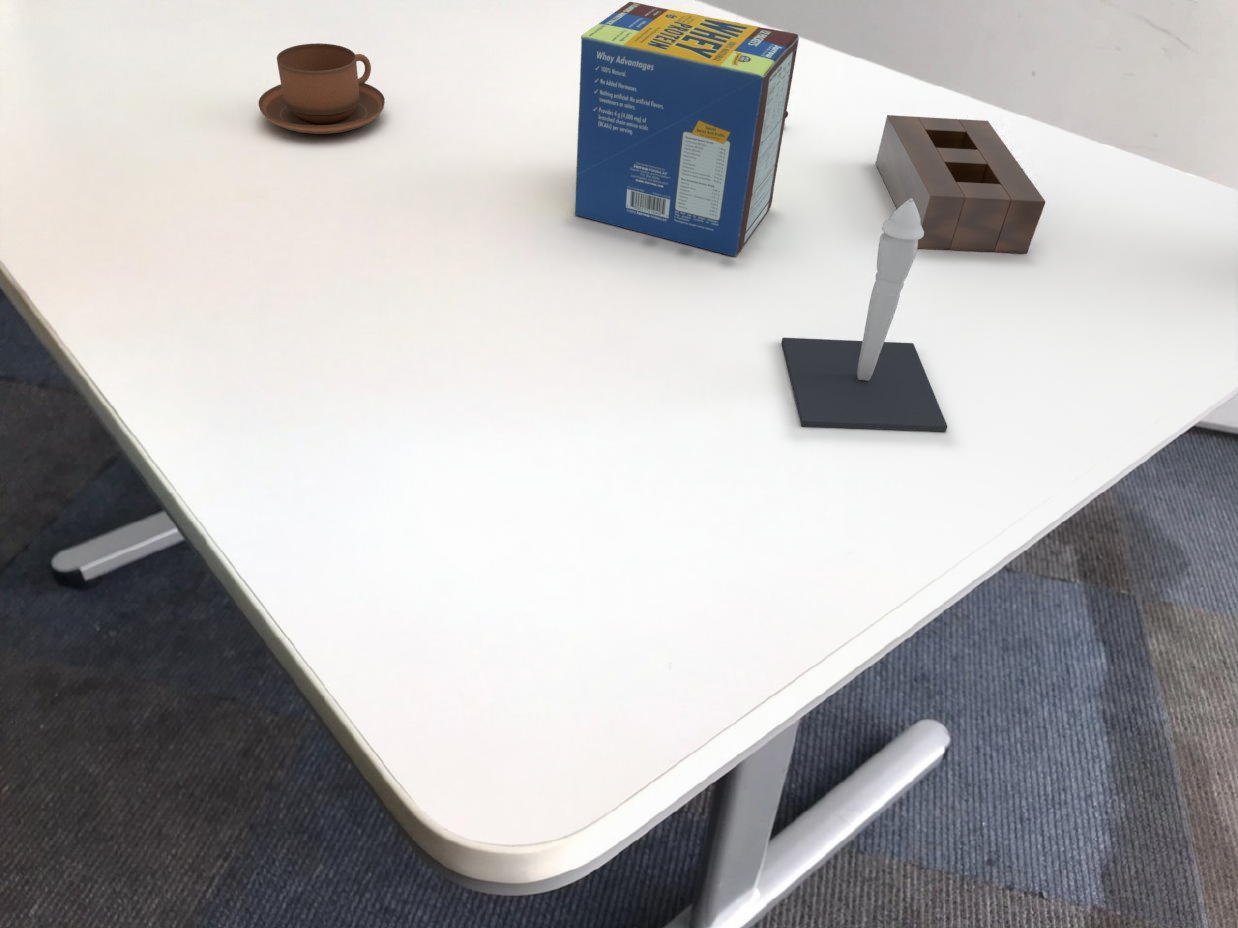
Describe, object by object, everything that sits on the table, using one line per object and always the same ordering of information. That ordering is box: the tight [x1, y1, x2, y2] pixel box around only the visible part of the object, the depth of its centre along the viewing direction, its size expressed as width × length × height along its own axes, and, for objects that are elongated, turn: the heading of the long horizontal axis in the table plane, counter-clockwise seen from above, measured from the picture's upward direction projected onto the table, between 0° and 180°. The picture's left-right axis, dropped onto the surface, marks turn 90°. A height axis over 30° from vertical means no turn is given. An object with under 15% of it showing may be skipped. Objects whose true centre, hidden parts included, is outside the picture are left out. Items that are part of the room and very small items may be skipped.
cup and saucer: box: [258, 43, 386, 135], centre depth 99 cm, size 12×12×6 cm
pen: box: [857, 198, 924, 381], centre depth 68 cm, size 2×3×14 cm
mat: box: [781, 337, 948, 433], centre depth 73 cm, size 10×10×1 cm
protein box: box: [573, 1, 800, 257], centre depth 86 cm, size 10×15×16 cm
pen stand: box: [875, 114, 1046, 254], centre depth 94 cm, size 10×17×5 cm, turn 1°
